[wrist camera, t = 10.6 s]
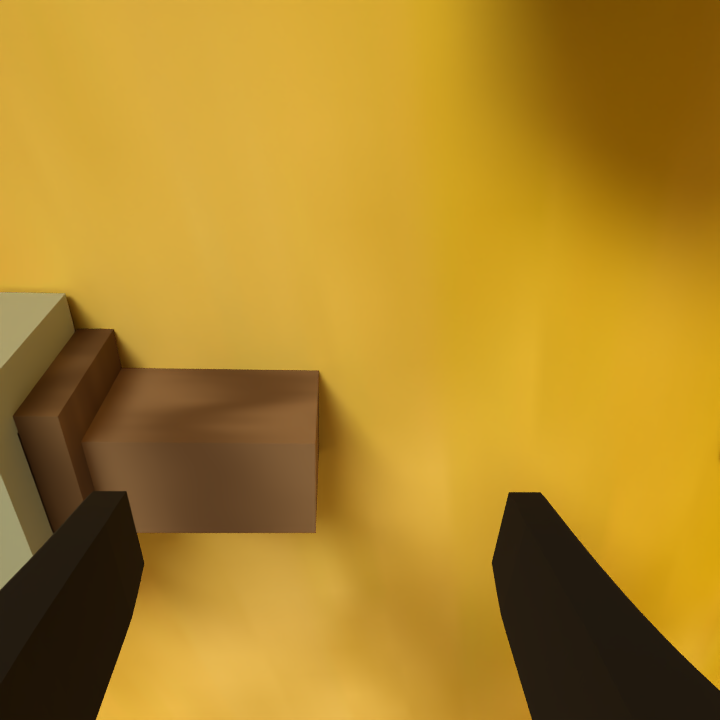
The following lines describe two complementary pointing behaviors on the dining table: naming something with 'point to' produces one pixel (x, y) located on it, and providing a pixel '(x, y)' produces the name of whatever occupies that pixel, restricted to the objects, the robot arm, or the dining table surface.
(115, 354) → the brown collared bar
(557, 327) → the dining table surface
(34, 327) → the block
